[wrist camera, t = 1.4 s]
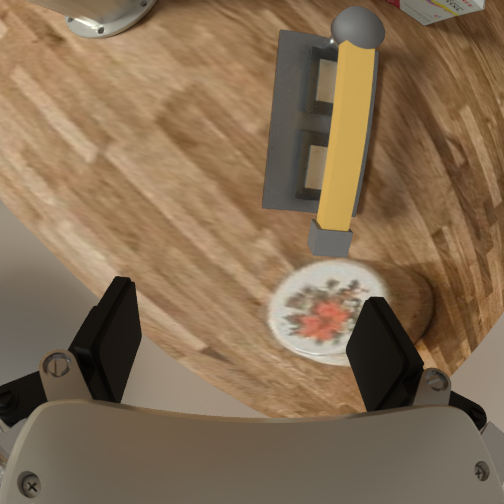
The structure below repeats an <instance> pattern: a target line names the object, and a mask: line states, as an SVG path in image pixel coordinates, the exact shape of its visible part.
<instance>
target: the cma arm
mask: <svg viewBox="0 0 504 504" xmlns="http://www.w3.org/2000/svg"><path fill="white" fill-rule="evenodd" d="M331 33H332V36H333V38H334V40H335V41H336V43H337V44H338V45H339V53H338V65H337V76H336V86H335V95H334V104H333V113H332V121H331V129H330V137H329V144H328V151H327V158H326V165H325V172H324V178H323V185H322V191H321V197H320V203H319V209H318V214H317V220H314V219H312V220H311V226H310V232H309V237H308V243H307V244H308V246H309V248H310V250H311V252H312V254H313V255H315V256H331V257H346V258H347V255H348V251H349V247H350V243H351V239H352V235H353V232H352V231H351V230H350V229H349V225H350V221H351V216H352V211H353V206H354V201H355V196H356V191H357V186H358V181H359V175H360V169H361V164H362V158H363V151H364V145H365V138H366V131H367V124H368V116H369V108H370V99H371V90H372V80H373V68H374V54H375V48H376V47H378V46H379V45H380V44H381V43H382V42H383V40H384V37H385V29H384V26H383V24H382V22H381V20H380V19H379V18H378V16H377V15H376V14H374V13H373V12H372V11H370V10H368V9H366V8H363V7H359V6H352V7H348V8H346V9H345V10H343V11H342V12H341V13H340V14H339V15H338V16H337V17H336V18H335V19H334V20H333V21H332V24H331Z"/></svg>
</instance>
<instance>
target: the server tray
mask: <svg viewBox="0 0 504 504" xmlns="http://www.w3.org/2000/svg"><path fill="white" fill-rule="evenodd" d="M338 53H339V45H338V44H337V43H336V41H335V40H334V38H333V36H332V35H331V36H330V37H328V38H327V37H322V36H317V35H312V34H307V33H301V32H295V31H288V30H280V32H279V41H278V51H277V61H276V71H275V81H274V91H273V101H272V111H271V121H270V131H269V141H268V150H267V160H266V170H265V179H264V189H263V198H262V208H266V209H278V210H290V211H301V212H312V213H318V209H319V203H320V197H321V191H322V185H323V178H324V172H325V165H326V158H327V151H328V144H329V137H330V129H331V121H332V113H333V104H334V95H335V86H336V76H337V65H338ZM378 58H379V51H376V50H375V54H374V68H373V80H372V90H371V99H370V108H369V116H368V124H367V131H366V138H365V145H364V151H363V158H362V164H361V169H360V175H359V181H358V186H357V191H356V196H355V201H354V206H353V211H352V216H351V217H355V216H356V211H357V207H358V202H359V197H360V192H361V187H362V181H363V176H364V170H365V165H366V159H367V153H368V146H369V140H370V133H371V126H372V118H373V110H374V102H375V93H376V82H377V71H378Z"/></svg>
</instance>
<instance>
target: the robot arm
mask: <svg viewBox="0 0 504 504" xmlns="http://www.w3.org/2000/svg"><path fill="white" fill-rule="evenodd" d="M24 1H27V2H30V3H33V4H36V5H39V6H42V7H44V8H47V9H50V10H52V11H55V12H58V13H60V14H63V15H64V16H65V21H66V24H67V26H68V27H69V29H70V30H71V31H72V32H73V33H75V34H76V35H79V36H81V37H84V38H88V39H101V38H107V37H110V36H113V35H116V34H118V33H120V32H122V31H124V30H126V29H128V28H129V27H131V26H133V25H134V24H135V23H137V22H138V21H139V20H140V19H142V18H143V17H144V16H145V15H146V14H147V13H148V12H149V11H150V9H151V8H152V7H153V5H154V4H155V3H156V1H157V0H24ZM145 5H146V6H145ZM141 337H142V332H141V326H140V319H139V312H138V304H137V296H136V288H135V283H134V282H131V279H130V278H129V277H120V276H116V277H115V278H114V279H113V281H112V283H111V284H110V286H109V287H108V289H107V290H106V292H105V294H104V295H103V297H102V299H101V300H100V302H99V303H98V305H97V306H94V307H93V308H92V309H91V311H90V312H89V314H88V316H87V317H86V319H85V321H84V322H83V324H82V326H81V327H80V329H79V331H78V333H77V334H76V336H75V338H74V340H73V342H72V343H71V345H70V347H69V349H68V351H67V350H64V349H56V350H52V351H50V352H48V353H46V354H45V355H44V356H43V357H42V359H41V360H40V363H39V371H37V372H34V373H32V374H29V375H27V376H24V377H22V378H19V379H17V380H14V381H12V382H9V383H6V384H4V385H2V386H0V504H504V491H503V488H502V484H503V482H504V433H503V432H502V431H501V430H499V429H498V428H497V427H496V426H495V425H494V424H493V423H491V422H490V421H489V422H488V423H487V417H486V413H485V411H484V410H483V408H482V407H481V406H480V405H478V404H476V403H474V402H473V401H471V400H469V399H467V398H465V397H463V396H461V395H459V394H457V393H455V392H453V391H451V381H450V379H449V377H448V376H447V374H445V373H444V372H443V371H441V370H440V369H437V368H427V369H426V370H424V369H423V365H424V362H423V360H422V358H421V357H420V355H419V353H418V352H417V350H416V348H415V346H414V345H413V343H412V341H411V340H410V338H409V336H408V335H407V333H406V332H405V330H404V328H403V327H402V325H401V323H400V322H399V320H398V319H397V317H396V315H395V314H394V312H393V311H392V309H391V308H390V306H389V305H388V303H387V301H386V300H385V299H384V297H370V298H369V299H368V300H366V301H365V302H364V305H363V307H362V310H361V312H360V315H359V317H358V320H357V322H356V325H355V327H354V330H353V332H352V334H351V337H350V339H349V341H348V344H347V346H346V354H347V357H348V359H349V362H350V365H351V367H352V370H353V373H354V376H355V378H356V381H357V384H358V387H359V390H360V393H361V395H362V398H363V401H364V404H365V407H366V410H367V412H363V413H355V414H346V415H335V416H321V417H303V418H240V417H221V416H206V415H196V414H186V413H178V412H170V411H163V410H156V409H149V408H143V407H136V406H131V405H126V404H120V403H121V400H122V396H123V393H124V390H125V387H126V383H127V380H128V377H129V374H130V371H131V368H132V365H133V362H134V359H135V356H136V353H137V350H138V348H139V345H140V341H141Z"/></svg>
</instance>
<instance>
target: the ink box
mask: <svg viewBox="0 0 504 504" xmlns="http://www.w3.org/2000/svg"><path fill="white" fill-rule="evenodd" d="M386 1H387V2H389V3H391V4H393V5H394V6H396V7H397V8H399V9H401V10H402V11H404V12H405V13H407V14H408V15H410V16H411V17H413V18H414V19H416V20H417V21H419V22H420V23H421V24H423V25H424V26H425V25H428V24H431V23H435V22H438V21H441V20H445V19H448V18H452V17H455V16H459V15H463V14H467V13H472V12H476V11H481V10H484V5H485V0H386Z"/></svg>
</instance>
